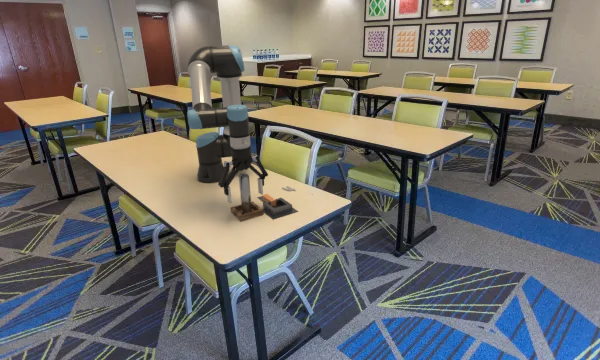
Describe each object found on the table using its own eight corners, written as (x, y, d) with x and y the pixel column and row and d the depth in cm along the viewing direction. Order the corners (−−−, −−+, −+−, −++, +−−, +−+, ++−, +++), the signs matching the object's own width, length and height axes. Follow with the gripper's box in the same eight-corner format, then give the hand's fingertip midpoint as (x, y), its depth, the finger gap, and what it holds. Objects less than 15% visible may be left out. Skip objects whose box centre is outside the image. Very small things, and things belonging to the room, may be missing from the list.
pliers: (296, 199, 156) (276, 189, 166) (296, 202, 156) (276, 192, 167) (313, 192, 161) (292, 183, 172) (313, 196, 162) (292, 186, 173)
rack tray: (231, 213, 147) (230, 207, 146) (253, 207, 152) (252, 201, 151) (241, 223, 139) (240, 216, 138) (263, 216, 144) (263, 209, 143)
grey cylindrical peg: (240, 212, 146) (236, 174, 140) (249, 210, 148) (246, 172, 142) (244, 216, 143) (241, 177, 137) (253, 213, 145) (250, 175, 139)
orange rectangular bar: (262, 200, 157) (262, 195, 156) (267, 198, 158) (267, 193, 157) (271, 206, 150) (270, 201, 149) (276, 205, 151) (275, 199, 151)
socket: (248, 201, 158) (247, 194, 157) (272, 194, 164) (271, 188, 163) (273, 221, 140) (272, 214, 139) (298, 212, 146) (298, 206, 145)
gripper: (212, 155, 126) (219, 209, 134) (274, 143, 138) (277, 193, 146) (205, 150, 132) (212, 202, 140) (265, 139, 144) (268, 187, 152)
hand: (245, 197), depth 143 cm, fingers open, 13 cm apart
